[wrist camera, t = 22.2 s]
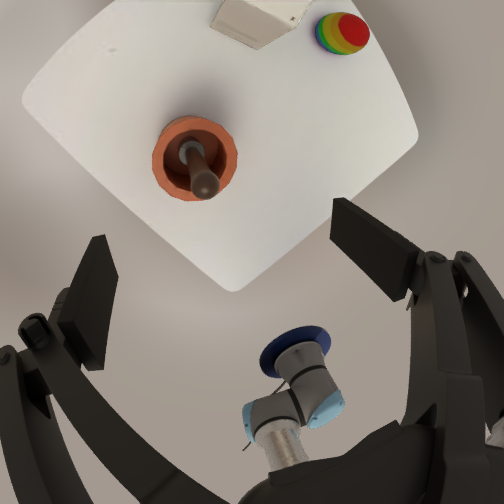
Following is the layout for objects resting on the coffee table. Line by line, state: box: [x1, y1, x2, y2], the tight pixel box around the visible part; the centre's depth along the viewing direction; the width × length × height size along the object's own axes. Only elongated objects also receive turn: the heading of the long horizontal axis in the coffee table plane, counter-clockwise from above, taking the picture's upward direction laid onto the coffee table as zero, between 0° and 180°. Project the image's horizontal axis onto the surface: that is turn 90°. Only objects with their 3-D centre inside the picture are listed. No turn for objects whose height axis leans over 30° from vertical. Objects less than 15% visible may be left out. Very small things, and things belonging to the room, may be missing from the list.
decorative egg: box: [316, 12, 370, 55], centre depth 32 cm, size 8×8×10 cm
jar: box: [152, 116, 238, 201], centre depth 36 cm, size 10×10×12 cm
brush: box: [178, 136, 220, 200], centre depth 30 cm, size 4×4×23 cm
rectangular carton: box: [210, 0, 313, 50], centre depth 25 cm, size 9×9×15 cm
